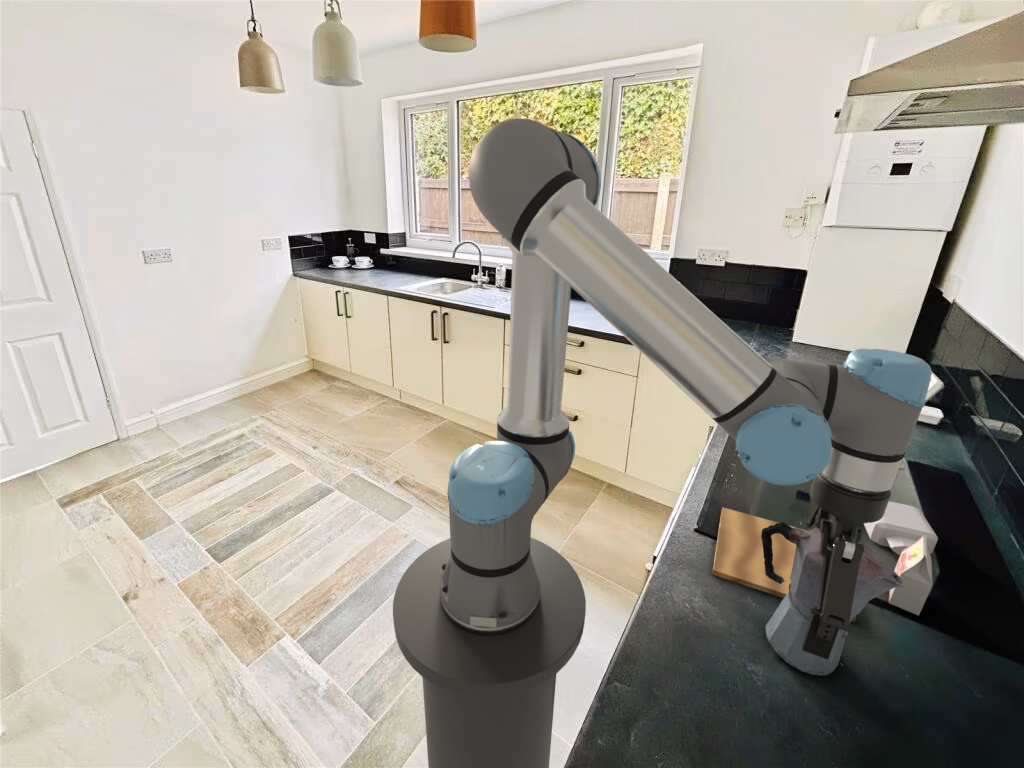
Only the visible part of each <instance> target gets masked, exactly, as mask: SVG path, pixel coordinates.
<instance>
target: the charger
mask: <svg viewBox="0 0 1024 768" xmlns="http://www.w3.org/2000/svg"><path fill="white" fill-rule="evenodd" d="M863 526H864V528H865V530H866V533H867V535H868V537H869V539H870V541H871V542H872V543H874V544H877V545H880V546H882V547H886V548H890V549H891V550H892V552H894V553H895V554H897V555H898V556H900V555H901V552H902V551H903V550H904V549H906V548H907V547H909V546H910V545H912V544H914V543H915V542H916V541H918V540H919V539H920V538H921V537H922V536H923V535H924V537H926V543H927V547H928V551H929V554H930V558H931V559H932V556H931V554H933V552H934V550H935V548H936V545H937V542H938V540H939V537H938V536H937V534H936V532H935V530H934V529H933V528H932V526H931V525H930V523H929V522H928V520H927V518H926V517H925V515H924V514H923V513H922V511H921V510H920V508H918V507H916V506H913V505H909V504H904V503H899V502H894V501H890V500H889V501H888V504H887V507H886V510H885V513H884V515H883V517H882V518H881V519H880V520H878V521H876V522H872V523H864V524H863Z"/></svg>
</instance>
